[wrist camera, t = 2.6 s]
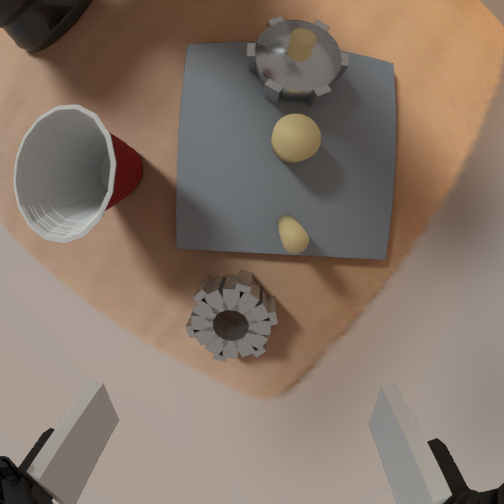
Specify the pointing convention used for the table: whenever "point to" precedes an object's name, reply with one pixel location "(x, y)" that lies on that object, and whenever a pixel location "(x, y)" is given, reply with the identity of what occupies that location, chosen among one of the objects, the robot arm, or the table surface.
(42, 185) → the plastic cup
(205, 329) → the planet gear
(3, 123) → the table surface
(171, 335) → the table surface
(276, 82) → the seated gear
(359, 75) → the plate
